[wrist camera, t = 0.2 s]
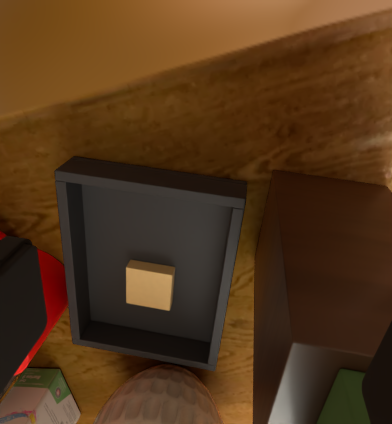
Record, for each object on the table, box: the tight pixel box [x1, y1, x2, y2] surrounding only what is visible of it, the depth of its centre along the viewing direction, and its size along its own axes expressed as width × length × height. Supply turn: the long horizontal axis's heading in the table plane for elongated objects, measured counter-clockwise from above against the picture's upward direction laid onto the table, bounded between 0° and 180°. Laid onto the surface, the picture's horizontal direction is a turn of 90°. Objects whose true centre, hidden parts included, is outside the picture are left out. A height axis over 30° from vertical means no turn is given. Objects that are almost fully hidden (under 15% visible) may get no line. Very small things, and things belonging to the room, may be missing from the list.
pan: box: [55, 156, 247, 371], centre depth 30 cm, size 18×14×3 cm
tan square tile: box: [126, 260, 175, 311], centre depth 31 cm, size 4×4×1 cm
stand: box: [253, 170, 392, 424], centre depth 20 cm, size 8×8×16 cm
